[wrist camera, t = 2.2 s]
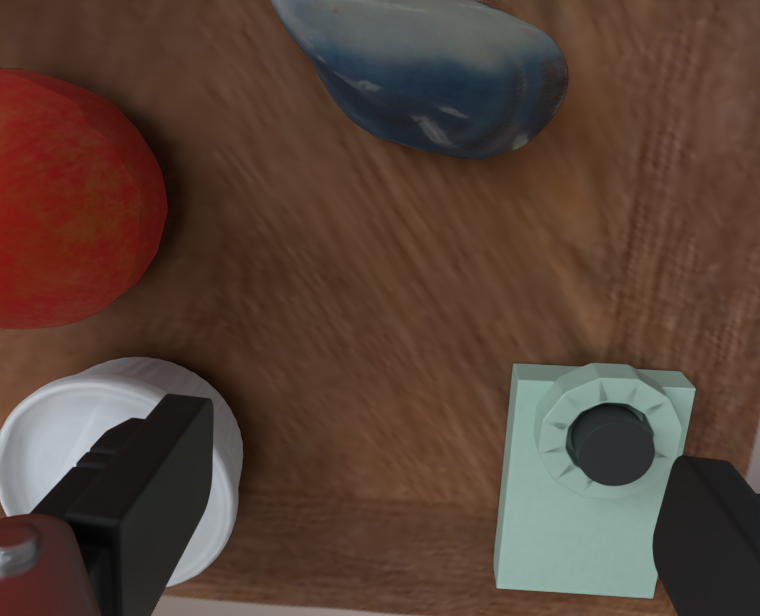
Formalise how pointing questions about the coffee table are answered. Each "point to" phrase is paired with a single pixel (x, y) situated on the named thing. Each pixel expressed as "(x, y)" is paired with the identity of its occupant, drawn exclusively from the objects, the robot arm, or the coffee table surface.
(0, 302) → the apple
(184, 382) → the ramekin
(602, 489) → the scale
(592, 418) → the button
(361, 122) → the seashell
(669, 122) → the coffee table surface
